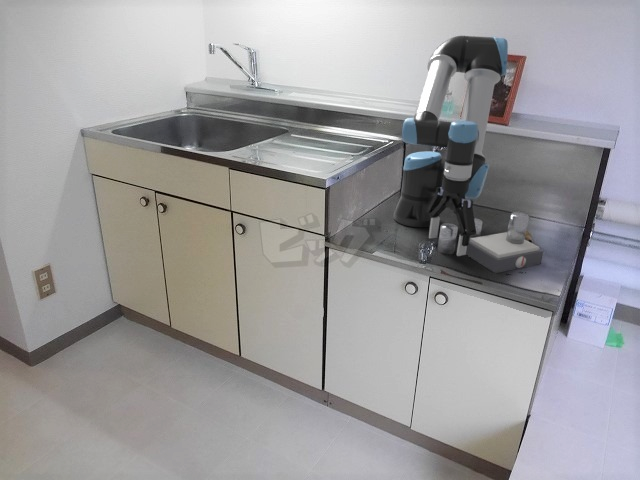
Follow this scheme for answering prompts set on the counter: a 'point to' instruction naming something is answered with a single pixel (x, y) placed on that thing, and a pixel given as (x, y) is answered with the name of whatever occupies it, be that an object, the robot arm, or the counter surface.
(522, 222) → the cylinder
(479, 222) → the cylinder
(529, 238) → the filled bread boat
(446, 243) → the cylinder
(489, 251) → the scale
